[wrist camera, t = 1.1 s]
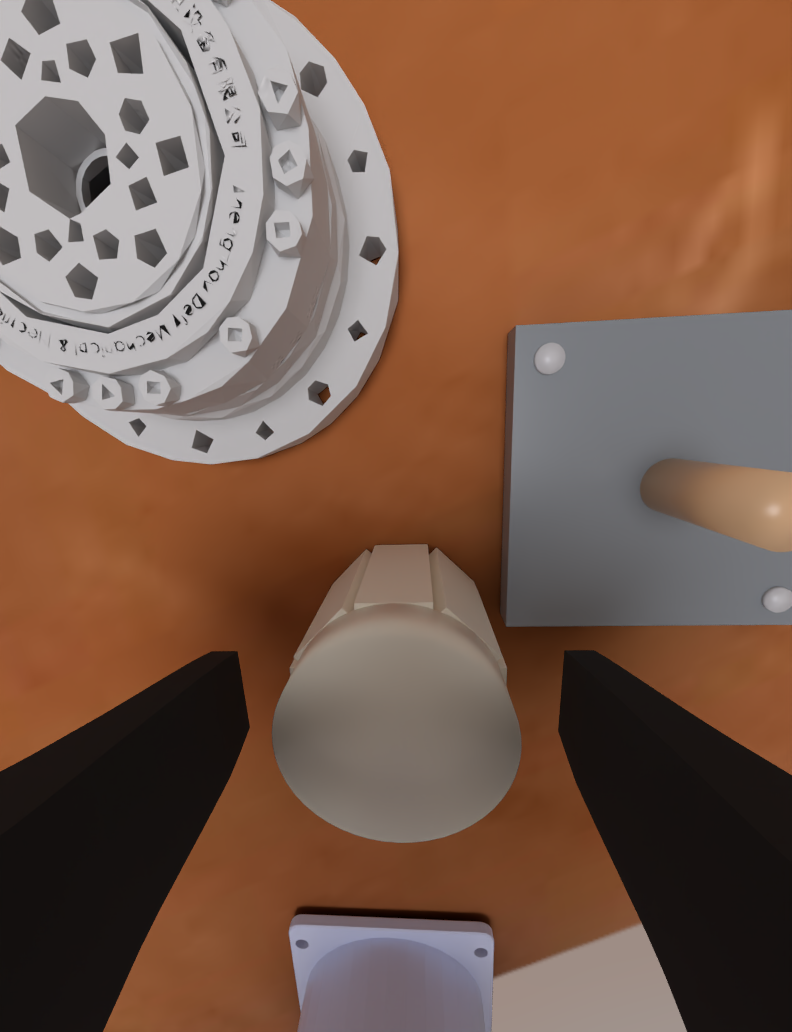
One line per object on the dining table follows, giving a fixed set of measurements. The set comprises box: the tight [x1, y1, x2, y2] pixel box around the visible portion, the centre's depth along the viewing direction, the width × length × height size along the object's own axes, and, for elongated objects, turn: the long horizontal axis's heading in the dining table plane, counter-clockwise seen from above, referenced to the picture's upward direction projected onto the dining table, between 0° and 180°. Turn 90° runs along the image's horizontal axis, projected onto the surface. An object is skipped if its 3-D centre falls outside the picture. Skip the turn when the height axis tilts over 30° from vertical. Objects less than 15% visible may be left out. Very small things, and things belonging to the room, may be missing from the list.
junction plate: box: [500, 310, 792, 627], centre depth 8 cm, size 8×8×4 cm
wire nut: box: [272, 544, 521, 843], centre depth 9 cm, size 5×5×5 cm
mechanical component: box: [0, 0, 398, 464], centre depth 8 cm, size 10×4×10 cm
